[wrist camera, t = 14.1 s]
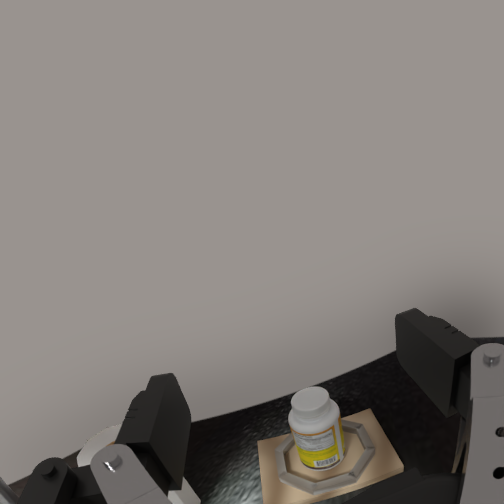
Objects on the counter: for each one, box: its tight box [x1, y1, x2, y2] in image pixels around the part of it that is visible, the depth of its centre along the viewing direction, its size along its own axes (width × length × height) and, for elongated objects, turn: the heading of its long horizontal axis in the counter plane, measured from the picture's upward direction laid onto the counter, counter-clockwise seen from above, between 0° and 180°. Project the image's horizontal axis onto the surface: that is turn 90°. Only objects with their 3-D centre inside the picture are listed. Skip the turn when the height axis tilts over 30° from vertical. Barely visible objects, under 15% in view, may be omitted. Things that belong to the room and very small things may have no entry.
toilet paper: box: [77, 424, 201, 504], centre depth 27 cm, size 10×10×12 cm
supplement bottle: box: [288, 387, 345, 471], centre depth 30 cm, size 6×6×10 cm
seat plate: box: [257, 409, 404, 504], centre depth 32 cm, size 16×12×2 cm
